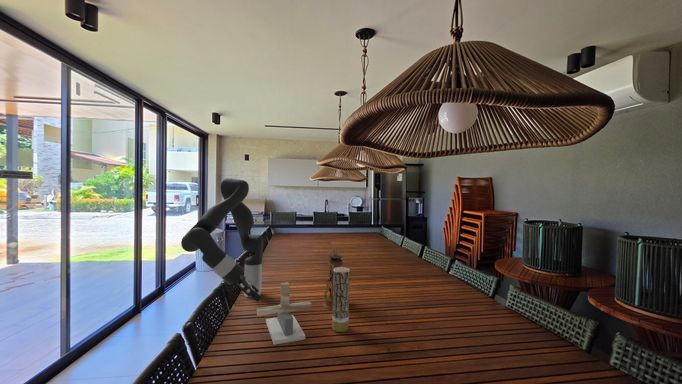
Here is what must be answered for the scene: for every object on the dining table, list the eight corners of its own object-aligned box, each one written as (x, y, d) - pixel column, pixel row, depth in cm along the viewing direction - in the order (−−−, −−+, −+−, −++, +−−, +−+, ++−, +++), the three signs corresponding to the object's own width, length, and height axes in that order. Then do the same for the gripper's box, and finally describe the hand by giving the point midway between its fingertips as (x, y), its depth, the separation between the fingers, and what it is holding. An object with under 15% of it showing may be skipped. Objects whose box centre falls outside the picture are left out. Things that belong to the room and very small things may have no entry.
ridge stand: (266, 322, 121) (266, 303, 122) (293, 318, 126) (293, 300, 126) (273, 344, 103) (274, 323, 103) (305, 339, 108) (305, 318, 108)
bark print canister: (346, 333, 113) (348, 271, 113) (330, 331, 114) (331, 270, 115) (349, 326, 119) (350, 267, 120) (334, 324, 121) (335, 266, 121)
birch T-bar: (256, 313, 112) (257, 285, 112) (309, 305, 120) (309, 280, 121) (257, 316, 109) (258, 287, 109) (311, 308, 118) (311, 282, 118)
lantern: (345, 313, 133) (346, 250, 134) (319, 310, 136) (320, 248, 136) (350, 300, 150) (351, 244, 151) (327, 298, 152) (328, 243, 153)
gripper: (236, 265, 101) (268, 294, 105) (234, 258, 114) (262, 283, 118) (220, 282, 99) (253, 310, 103) (220, 272, 112) (249, 297, 116)
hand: (258, 296), depth 111 cm, fingers open, 8 cm apart
